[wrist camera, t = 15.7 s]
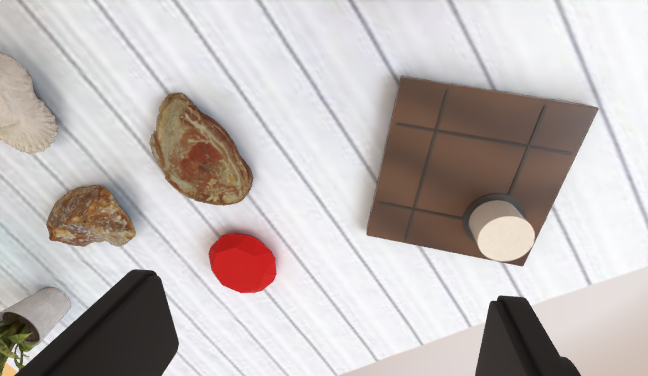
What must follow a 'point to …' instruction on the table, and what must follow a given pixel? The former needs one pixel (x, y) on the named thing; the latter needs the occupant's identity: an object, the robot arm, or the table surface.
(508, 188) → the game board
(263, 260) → the gemstone
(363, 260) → the table surface
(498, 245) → the cream cylinder puck
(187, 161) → the stone
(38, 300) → the house plant
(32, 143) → the fossil replica
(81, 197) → the decorative stone
